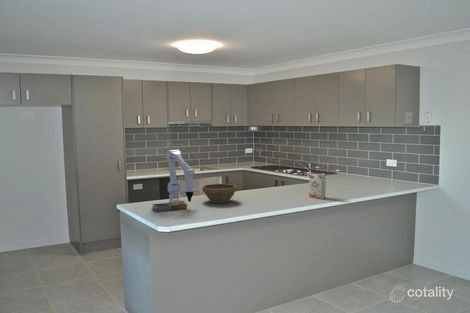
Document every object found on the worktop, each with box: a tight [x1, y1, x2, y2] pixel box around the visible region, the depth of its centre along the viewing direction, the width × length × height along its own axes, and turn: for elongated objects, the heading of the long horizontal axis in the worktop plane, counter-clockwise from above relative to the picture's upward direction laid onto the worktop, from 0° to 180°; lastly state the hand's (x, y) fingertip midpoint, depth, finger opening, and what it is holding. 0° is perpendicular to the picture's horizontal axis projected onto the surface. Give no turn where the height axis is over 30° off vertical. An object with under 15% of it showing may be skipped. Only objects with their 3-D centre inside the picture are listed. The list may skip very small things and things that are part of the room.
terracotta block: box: [178, 199, 185, 204], centre depth 318 cm, size 4×4×2 cm
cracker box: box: [308, 172, 327, 200], centre depth 360 cm, size 14×6×21 cm, turn 37°
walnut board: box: [167, 201, 188, 211], centre depth 320 cm, size 12×12×4 cm
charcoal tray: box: [152, 202, 172, 213], centre depth 315 cm, size 12×12×4 cm
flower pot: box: [202, 183, 238, 204], centre depth 344 cm, size 28×28×13 cm
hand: (189, 201), depth 320 cm, fingers closed
